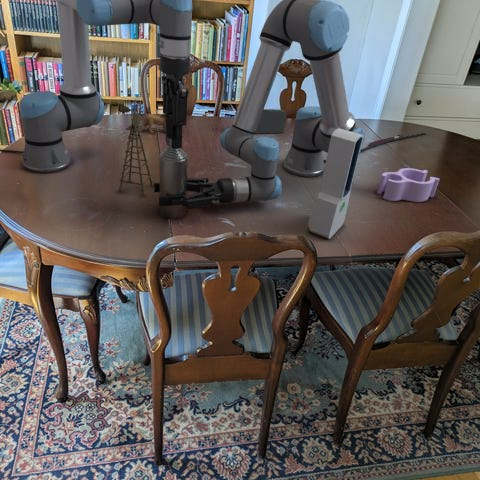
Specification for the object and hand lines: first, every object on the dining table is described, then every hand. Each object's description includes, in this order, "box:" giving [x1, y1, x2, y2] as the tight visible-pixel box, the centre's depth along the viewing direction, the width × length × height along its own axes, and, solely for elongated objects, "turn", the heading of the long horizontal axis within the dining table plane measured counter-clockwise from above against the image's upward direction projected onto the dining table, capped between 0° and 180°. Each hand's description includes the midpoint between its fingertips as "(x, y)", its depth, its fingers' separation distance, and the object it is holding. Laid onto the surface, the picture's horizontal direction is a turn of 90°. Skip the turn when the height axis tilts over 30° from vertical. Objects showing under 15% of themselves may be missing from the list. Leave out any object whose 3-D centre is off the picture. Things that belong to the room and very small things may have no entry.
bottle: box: [158, 146, 189, 219], centre depth 134 cm, size 8×8×23 cm
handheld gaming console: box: [234, 108, 287, 134], centre depth 202 cm, size 23×3×10 cm, turn 108°
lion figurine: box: [142, 114, 167, 134], centre depth 192 cm, size 15×5×9 cm, turn 110°
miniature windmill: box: [118, 95, 154, 197], centre depth 142 cm, size 9×8×30 cm
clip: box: [376, 167, 440, 203], centre depth 164 cm, size 20×12×7 cm, turn 109°
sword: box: [368, 134, 409, 147], centre depth 212 cm, size 31×3×1 cm, turn 126°
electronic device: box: [307, 128, 364, 240], centre depth 132 cm, size 12×8×30 cm, turn 148°
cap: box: [166, 135, 172, 147], centre depth 128 cm, size 4×4×2 cm
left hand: (173, 144), depth 129 cm, fingers closed on cap, 4 cm apart
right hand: (156, 194), depth 135 cm, fingers closed on bottle, 8 cm apart
